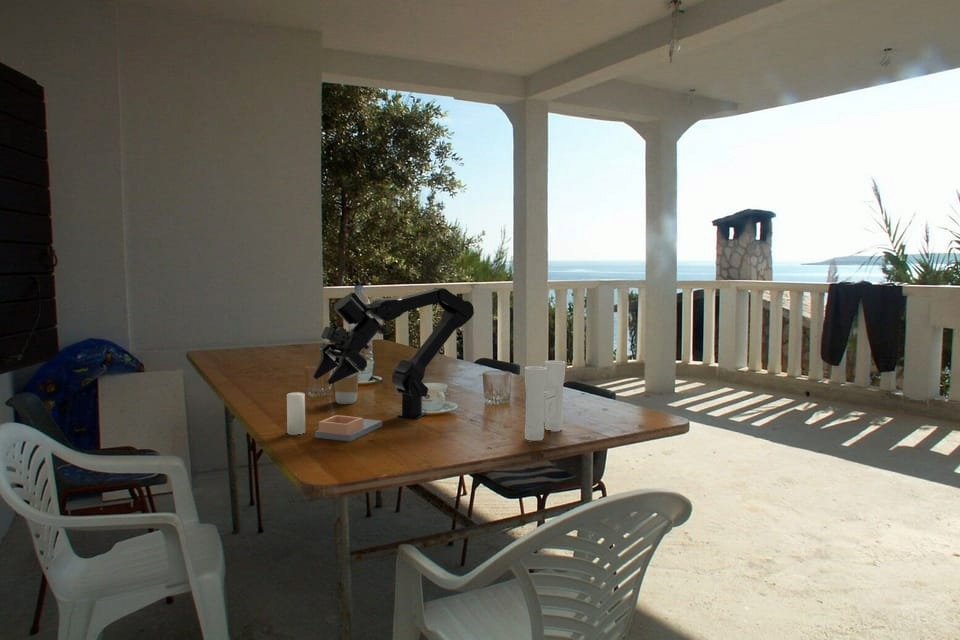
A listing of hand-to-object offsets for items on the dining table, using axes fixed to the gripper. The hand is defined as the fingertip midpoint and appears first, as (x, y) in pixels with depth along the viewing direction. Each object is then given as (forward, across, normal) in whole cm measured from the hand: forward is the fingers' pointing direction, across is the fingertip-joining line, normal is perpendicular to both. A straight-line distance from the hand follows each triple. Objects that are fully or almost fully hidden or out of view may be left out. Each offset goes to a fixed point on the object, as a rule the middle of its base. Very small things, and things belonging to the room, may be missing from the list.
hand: (321, 380), depth 172 cm
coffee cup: (-5, -27, +23) cm, 36 cm away
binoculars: (-23, +36, +41) cm, 59 cm away
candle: (+14, 0, +4) cm, 15 cm away
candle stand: (+6, +7, +12) cm, 15 cm away
